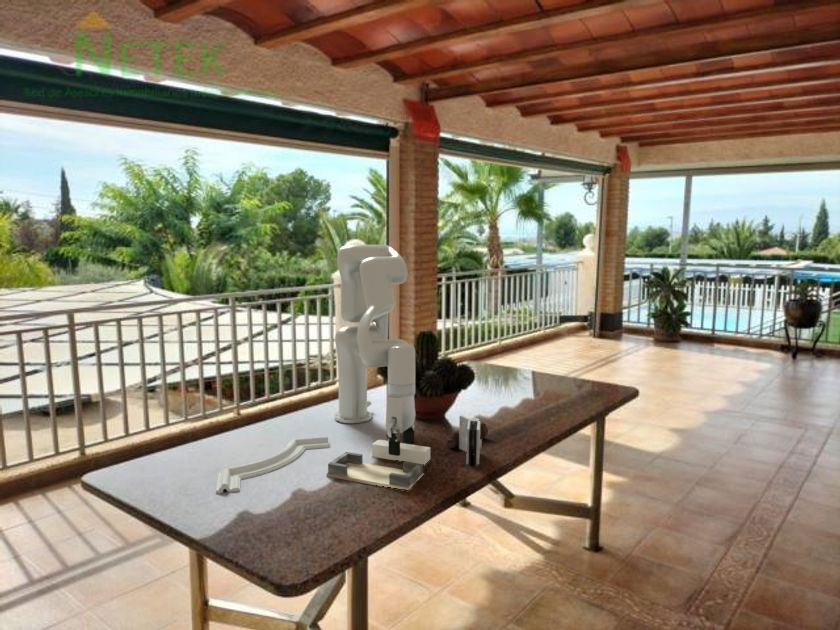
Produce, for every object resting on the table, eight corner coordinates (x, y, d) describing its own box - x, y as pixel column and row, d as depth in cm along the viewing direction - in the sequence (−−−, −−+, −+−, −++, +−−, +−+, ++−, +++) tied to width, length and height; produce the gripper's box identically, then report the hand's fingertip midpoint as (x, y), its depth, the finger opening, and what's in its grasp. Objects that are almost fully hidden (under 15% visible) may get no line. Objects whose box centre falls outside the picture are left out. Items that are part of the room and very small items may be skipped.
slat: (378, 452, 170) (378, 439, 170) (430, 461, 164) (430, 447, 164) (372, 457, 167) (372, 443, 166) (424, 466, 161) (424, 452, 160)
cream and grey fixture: (345, 462, 162) (345, 451, 161) (423, 476, 153) (424, 463, 153) (326, 476, 153) (326, 464, 152) (408, 491, 144) (408, 478, 144)
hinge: (458, 448, 174) (459, 415, 173) (476, 448, 174) (477, 414, 173) (466, 466, 160) (467, 430, 159) (486, 466, 161) (487, 430, 159)
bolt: (448, 454, 174) (479, 440, 185) (459, 450, 170) (490, 436, 181) (440, 436, 175) (472, 422, 186) (451, 431, 172) (483, 418, 182)
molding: (227, 499, 141) (227, 488, 140) (192, 488, 146) (192, 477, 146) (337, 445, 177) (337, 436, 177) (305, 438, 183) (305, 429, 183)
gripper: (401, 381, 172) (402, 438, 174) (375, 394, 156) (375, 457, 158) (425, 383, 169) (425, 441, 171) (401, 397, 153) (401, 461, 155)
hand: (401, 449), depth 165 cm, fingers open, 9 cm apart
